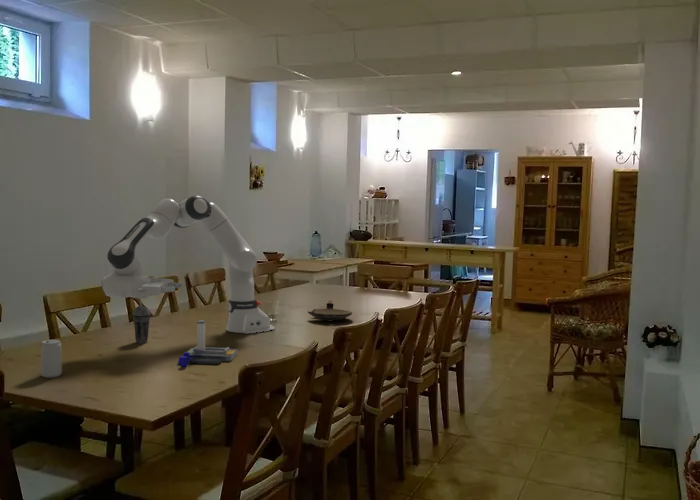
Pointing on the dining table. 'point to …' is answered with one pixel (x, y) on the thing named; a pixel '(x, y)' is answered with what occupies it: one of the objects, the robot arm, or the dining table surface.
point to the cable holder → (184, 359)
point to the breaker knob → (201, 335)
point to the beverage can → (51, 358)
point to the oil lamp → (330, 313)
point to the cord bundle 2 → (205, 361)
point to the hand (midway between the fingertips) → (178, 287)
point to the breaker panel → (213, 353)
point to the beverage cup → (141, 323)
